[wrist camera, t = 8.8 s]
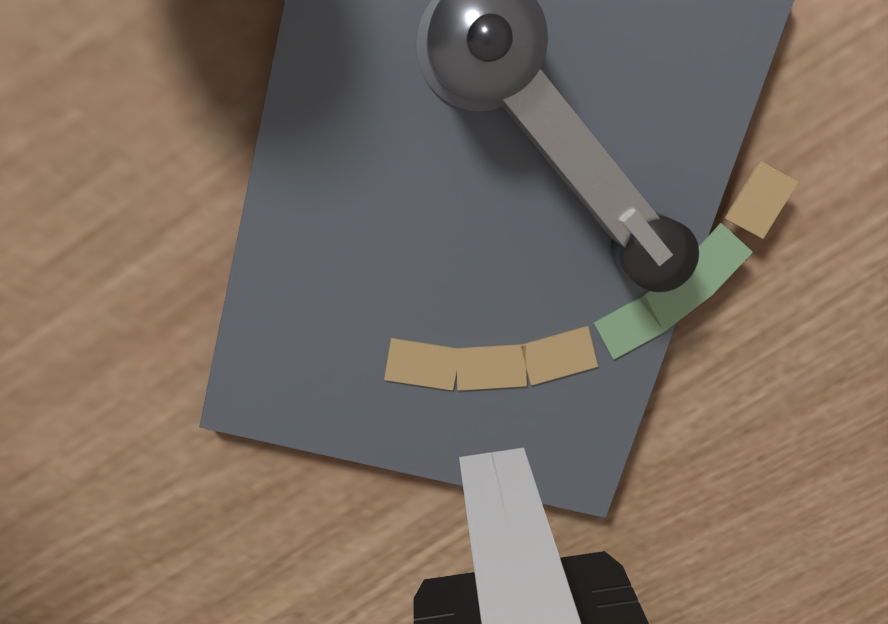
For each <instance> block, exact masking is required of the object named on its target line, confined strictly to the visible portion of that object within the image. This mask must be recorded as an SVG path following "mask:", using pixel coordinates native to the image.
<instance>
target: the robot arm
mask: <svg viewBox="0 0 888 624" xmlns="http://www.w3.org/2000/svg"><path fill="white" fill-rule="evenodd" d="M459 460H460V467H461V475H462V482H463V489H464V497H465V504H466V512H467V519H468V526H469V534H470V541H471V548H472V556H473V563H474V570H475V572H472V573H465V574H458V575H452V576H445V577H438V578H431V579H424V581H423V582H422V584H421V586H420V588H419V589H418V591H417V593H416V595H415V596H414V624H649V623H648V621H647V618H646V616H645V614H644V612H643V610H642V607H641V605H640V603H638V599H637V596H636V594H635V592H634V590H633V588H632V587H631V583H630V581H629V579H628V577H627V574H626V572H625V570H624V568H623V566H622V565H621V564H620V563H619V562H617V561H616V560H615V559H614V558H612V557H611V556H610V555H609V554H607V553H606V552H605V551H603V552H596V553H589V554H582V555H576V556H569V557H562V558H560V557H559V554H558V551H557V548H556V545H555V542H554V539H553V536H552V533H551V529H550V526H549V523H548V520H547V517H546V514H545V511H544V508H543V505H542V502H541V499H540V496H539V493H538V489H537V486H536V483H535V480H534V477H533V474H532V471H531V468H530V465H529V462H528V459H527V456H526V453H525V450H524V448H518V449H511V450H505V451H498V452H491V453H484V454H477V455H470V456H463V457H459Z"/></svg>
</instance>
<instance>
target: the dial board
mask: <svg viewBox="0 0 888 624" xmlns="http://www.w3.org/2000/svg"><path fill="white" fill-rule="evenodd" d="M439 1H440V0H285V3H284V8H283V13H282V18H281V23H280V28H279V33H278V38H277V43H276V48H275V53H274V58H273V63H272V68H271V73H270V77H269V82H268V87H267V92H266V97H265V102H264V107H263V112H262V117H261V122H260V127H259V132H258V137H257V142H256V147H255V152H254V157H253V162H252V167H251V172H250V177H249V182H248V187H247V192H246V197H245V202H244V207H243V212H242V217H241V222H240V227H239V232H238V237H237V242H236V247H235V252H234V257H233V262H232V267H231V272H230V276H229V281H228V286H227V291H226V296H225V301H224V306H223V311H222V316H221V321H220V326H219V331H218V336H217V341H216V346H215V351H214V356H213V361H212V366H211V371H210V376H209V381H208V386H207V391H206V396H205V401H204V406H203V411H202V416H201V421H200V426H199V427H200V428H205V429H209V430H214V431H218V432H222V433H227V434H231V435H236V436H240V437H245V438H249V439H254V440H258V441H263V442H267V443H272V444H276V445H281V446H285V447H290V448H294V449H299V450H303V451H308V452H312V453H317V454H321V455H326V456H330V457H334V458H339V459H343V460H348V461H352V462H357V463H361V464H366V465H370V466H375V467H379V468H384V469H388V470H393V471H397V472H402V473H406V474H411V475H415V476H420V477H424V478H429V479H433V480H437V481H442V482H446V483H451V484H455V485H460V486H463V482H462V475H461V467H460V460H459V457H463V456H470V455H477V454H484V453H491V452H498V451H505V450H511V449H518V448H524V450H525V453H526V456H527V459H528V462H529V465H530V468H531V471H532V474H533V477H534V480H535V483H536V486H537V489H538V493H539V496H540V499H541V502H542V504H545V505H549V506H554V507H558V508H563V509H567V510H572V511H576V512H581V513H585V514H590V515H594V516H599V517H603V518H606V516H607V513H608V510H609V508H610V505H611V502H612V499H613V497H614V494H615V491H616V488H617V486H618V483H619V480H620V477H621V475H622V472H623V469H624V466H625V464H626V461H627V458H628V455H629V453H630V450H631V447H632V444H633V442H634V439H635V436H636V433H637V431H638V428H639V425H640V422H641V420H642V417H643V414H644V411H645V409H646V406H647V403H648V400H649V398H650V395H651V392H652V389H653V387H654V384H655V381H656V378H657V376H658V373H659V370H660V367H661V365H662V362H663V359H664V356H665V354H666V351H667V348H668V345H669V343H670V340H671V337H672V334H673V332H674V329H675V326H676V323H677V322H678V321H679V320H681V319H682V318H683V317H685V316H686V315H687V314H688V313H690V312H691V311H692V310H694V309H695V308H696V307H698V306H699V305H700V304H701V303H703V302H704V301H705V300H707V299H708V298H709V297H711V296H712V295H713V294H714V293H715V292H716V290H717V289H718V288H719V287H720V286H721V285H722V284H723V283H724V282H725V281H726V280H727V279H728V278H729V277H730V276H731V275H732V274H733V273H734V271H735V270H736V269H737V268H738V267H739V266H740V265H741V264H742V263H743V262H744V261H745V260H746V259H747V258H748V257H749V256H750V255H751V254H752V251H751V250H750V249H749V248H748V247H747V246H746V245H745V244H743V243H742V242H741V241H740V240H739V239H738V238H737V237H736V236H735V235H734V234H733V233H732V232H730V231H729V230H728V229H727V228H726V227H725V226H724V225H723V224H722V223H720V224H719V225H718V226H717V228H716V229H715V230H714V231H713V232H712V233H711V234H710V235H709V233H710V230H711V227H712V224H713V222H714V219H715V216H716V213H717V211H718V208H719V205H720V202H721V200H722V197H723V194H724V191H725V189H726V186H727V183H728V180H729V178H730V175H731V172H732V169H733V167H734V164H735V161H736V158H737V156H738V153H739V150H740V147H741V145H742V142H743V139H744V136H745V134H746V131H747V128H748V125H749V123H750V120H751V117H752V114H753V112H754V109H755V106H756V103H757V101H758V98H759V95H760V92H761V90H762V87H763V84H764V81H765V79H766V76H767V73H768V70H769V68H770V65H771V62H772V59H773V57H774V54H775V51H776V48H777V46H778V43H779V40H780V37H781V35H782V32H783V29H784V26H785V24H786V21H787V18H788V15H789V13H790V10H791V7H792V4H793V2H794V0H537V1H538V3H539V5H540V6H541V8H542V10H543V13H544V16H545V19H546V23H547V30H548V45H547V51H546V55H545V58H544V61H543V64H542V66H541V68H540V69H541V70H542V72H543V73H544V74H545V75H546V77H547V78H548V79H549V80H550V82H551V83H552V84H553V85H554V87H555V88H556V89H557V90H558V92H559V93H560V94H561V95H562V97H563V98H564V99H565V100H566V102H567V103H568V104H569V105H570V107H571V108H572V109H573V110H574V112H575V113H576V114H577V115H578V117H579V118H580V119H581V120H582V122H583V123H584V124H585V125H586V127H587V128H588V129H589V130H590V132H591V133H592V134H593V135H594V137H595V138H596V139H597V140H598V142H599V143H600V144H601V145H602V147H603V148H604V149H605V150H606V152H607V153H608V154H609V155H610V157H611V158H612V159H613V160H614V162H615V163H616V164H617V165H618V167H619V168H620V169H621V170H622V172H623V173H624V174H625V175H626V177H627V178H628V179H629V180H630V182H631V183H632V184H633V185H634V187H635V188H636V189H637V190H638V192H639V193H640V194H641V195H642V197H643V198H644V199H645V200H646V202H647V203H648V204H649V205H650V207H651V208H652V209H653V210H654V212H657V213H660V214H662V215H664V216H667V217H669V218H671V219H673V220H675V221H677V222H680V223H682V224H683V225H685V226H686V227H688V228H689V229H690V230H691V231H692V233H693V234H694V236H695V237H696V240H697V242H698V246H699V260H698V264H697V267H696V269H695V271H694V273H693V274H692V276H691V277H690V278H689V279H688V280H687V281H686V282H685V283H684V284H683V285H681V286H680V287H678V288H676V289H674V290H671V291H667V292H652V291H648V290H646V289H643V288H642V287H640V286H639V285H637V284H636V283H635V282H634V281H633V280H631V279H630V278H629V277H628V276H626V275H625V274H624V273H623V272H622V271H620V270H619V269H618V268H617V266H616V265H615V263H614V261H613V259H612V256H611V251H610V243H611V237H610V236H609V235H608V234H607V232H606V231H605V230H604V229H603V228H602V226H601V225H600V224H599V223H598V222H597V220H596V219H595V218H594V217H593V216H592V214H591V213H590V212H589V211H588V209H587V208H586V207H585V206H584V205H583V203H582V202H581V201H580V200H579V199H578V197H577V196H576V195H575V194H574V193H573V191H572V190H571V189H570V188H569V187H568V185H567V184H566V183H565V182H564V180H563V179H562V178H561V177H560V176H559V174H558V173H557V172H556V171H555V170H554V168H553V167H552V166H551V165H550V164H549V162H548V161H547V160H546V159H545V158H544V156H543V155H542V154H541V153H540V151H539V150H538V149H537V148H536V147H535V145H534V144H533V143H532V142H531V141H530V139H529V138H528V137H527V136H526V135H525V133H524V132H523V131H522V130H521V129H520V127H519V126H518V125H517V124H516V122H515V121H514V120H513V119H512V118H511V116H510V115H509V114H508V113H507V112H506V110H505V109H504V108H503V107H502V106H501V104H500V103H499V102H498V101H491V102H482V101H471V100H467V99H463V98H461V97H458V96H456V95H455V94H453V93H451V92H450V91H449V90H447V89H446V88H445V87H444V86H443V85H442V84H441V83H440V82H439V80H438V79H437V78H436V76H435V74H434V73H433V71H432V69H431V66H430V64H429V60H428V56H427V48H426V41H427V33H428V29H429V25H430V21H431V17H432V15H433V12H434V10H435V8H436V6H437V4H438V3H439ZM797 184H798V182H797V181H796V180H794V179H792V178H790V177H788V176H787V175H785V174H783V173H781V172H779V171H778V170H776V169H774V168H772V167H771V166H769V165H767V164H765V163H763V162H762V161H759V162H758V163H757V165H756V167H755V168H754V170H753V172H752V173H751V175H750V177H749V178H748V180H747V182H746V183H745V185H744V187H743V188H742V190H741V192H740V193H739V195H738V197H737V198H736V200H735V202H734V203H733V205H732V206H731V208H730V210H729V211H728V213H727V215H726V216H725V219H727V220H729V221H731V222H732V223H734V224H736V225H738V226H740V227H742V228H744V229H745V230H747V231H749V232H751V233H753V234H755V235H756V236H758V237H760V238H762V239H763V238H764V237H765V235H766V234H767V232H768V230H769V229H770V227H771V225H772V224H773V222H774V221H775V219H776V217H777V216H778V214H779V213H780V211H781V209H782V208H783V206H784V205H785V203H786V201H787V200H788V198H789V197H790V195H791V193H792V192H793V190H794V188H795V187H796V185H797ZM708 235H709V236H708Z"/></svg>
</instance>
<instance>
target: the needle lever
mask: <svg viewBox="0 0 888 624" xmlns="http://www.w3.org/2000/svg"><path fill="white" fill-rule="evenodd" d="M547 45H548V30H547V23H546V19H545V16H544V13H543V10H542V8H541V6H540V5H539V3H538V1H537V0H440V1H439V3H438V4H437V6H436V8H435V10H434V12H433V15H432V17H431V21H430V25H429V29H428V33H427V41H426V48H427V56H428V60H429V64H430V66H431V69H432V71H433V73H434V74H435V76H436V78H437V79H438V80H439V82H440V83H441V84H442V85H443V86H444V87H445V88H446V89H447V90H449V91H450V92H451V93H453V94H455V95H456V96H458V97H461V98H463V99H467V100H471V101H482V102H491V101H498V102H499V103H500V104H501V106H502V107H503V108H504V109H505V110H506V112H507V113H508V114H509V115H510V116H511V118H512V119H513V120H514V121H515V122H516V124H517V125H518V126H519V127H520V129H521V130H522V131H523V132H524V133H525V135H526V136H527V137H528V138H529V139H530V141H531V142H532V143H533V144H534V145H535V147H536V148H537V149H538V150H539V151H540V153H541V154H542V155H543V156H544V158H545V159H546V160H547V161H548V162H549V164H550V165H551V166H552V167H553V168H554V170H555V171H556V172H557V173H558V174H559V176H560V177H561V178H562V179H563V180H564V182H565V183H566V184H567V185H568V187H569V188H570V189H571V190H572V191H573V193H574V194H575V195H576V196H577V197H578V199H579V200H580V201H581V202H582V203H583V205H584V206H585V207H586V208H587V209H588V211H589V212H590V213H591V214H592V216H593V217H594V218H595V219H596V220H597V222H598V223H599V224H600V225H601V226H602V228H603V229H604V230H605V231H606V232H607V234H608V235H609V236H610V237H611V243H610V251H611V256H612V259H613V261H614V263H615V265H616V266H617V268H618V269H619V270H620V271H622V272H623V273H624V274H625V275H626V276H628V277H629V278H630V279H631V280H633V281H634V282H635V283H636V284H637V285H639V286H640V287H642V288H643V289H646V290H648V291H652V292H667V291H671V290H674V289H676V288H678V287H680V286H681V285H683V284H684V283H685V282H686V281H687V280H688V279H689V278H690V277H691V276H692V274H693V273H694V271H695V269H696V267H697V264H698V260H699V246H698V242H697V240H696V237H695V236H694V234H693V233H692V231H691V230H690V229H689V228H688V227H686V226H685V225H683V224H682V223H680V222H677V221H675V220H673V219H671V218H669V217H667V216H664V215H662V214H660V213H657V212H654V210H653V209H652V208H651V207H650V205H649V204H648V203H647V202H646V200H645V199H644V198H643V197H642V195H641V194H640V193H639V192H638V190H637V189H636V188H635V187H634V185H633V184H632V183H631V182H630V180H629V179H628V178H627V177H626V175H625V174H624V173H623V172H622V170H621V169H620V168H619V167H618V165H617V164H616V163H615V162H614V160H613V159H612V158H611V157H610V155H609V154H608V153H607V152H606V150H605V149H604V148H603V147H602V145H601V144H600V143H599V142H598V140H597V139H596V138H595V137H594V135H593V134H592V133H591V132H590V130H589V129H588V128H587V127H586V125H585V124H584V123H583V122H582V120H581V119H580V118H579V117H578V115H577V114H576V113H575V112H574V110H573V109H572V108H571V107H570V105H569V104H568V103H567V102H566V100H565V99H564V98H563V97H562V95H561V94H560V93H559V92H558V90H557V89H556V88H555V87H554V85H553V84H552V83H551V82H550V80H549V79H548V78H547V77H546V75H545V74H544V73H543V72H542V70H541V69H540V68H541V66H542V64H543V61H544V58H545V55H546V51H547Z"/></svg>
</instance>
